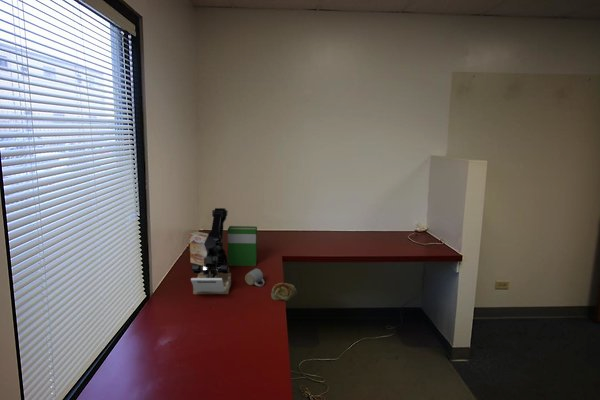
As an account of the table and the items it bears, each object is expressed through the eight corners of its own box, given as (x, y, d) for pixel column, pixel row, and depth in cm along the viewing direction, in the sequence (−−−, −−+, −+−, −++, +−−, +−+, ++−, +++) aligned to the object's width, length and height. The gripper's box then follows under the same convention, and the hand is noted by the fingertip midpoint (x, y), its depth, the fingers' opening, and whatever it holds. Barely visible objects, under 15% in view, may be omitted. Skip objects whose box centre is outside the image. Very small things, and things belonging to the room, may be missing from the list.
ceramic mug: (243, 284, 205) (243, 271, 204) (253, 279, 212) (253, 266, 210) (258, 289, 200) (258, 276, 198) (267, 284, 206) (268, 271, 205)
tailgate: (195, 289, 190) (191, 278, 180) (224, 289, 191) (221, 278, 181) (195, 292, 189) (190, 281, 179) (224, 292, 190) (221, 281, 180)
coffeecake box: (190, 262, 235) (189, 233, 231) (197, 259, 241) (197, 231, 238) (207, 267, 228) (207, 237, 225) (215, 263, 235) (214, 234, 231)
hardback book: (256, 261, 240) (257, 226, 235) (255, 265, 233) (255, 229, 228) (230, 261, 239) (229, 226, 235) (228, 265, 232) (227, 229, 227)
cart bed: (198, 283, 204) (198, 272, 203) (231, 283, 205) (230, 272, 204) (193, 294, 191) (192, 282, 190) (227, 294, 192) (227, 282, 191)
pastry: (273, 303, 184) (273, 288, 182) (268, 292, 196) (268, 278, 194) (300, 300, 188) (300, 285, 187) (293, 289, 200) (293, 276, 198)
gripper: (191, 250, 187) (186, 279, 179) (228, 250, 189) (225, 279, 180) (195, 259, 197) (191, 286, 188) (230, 259, 198) (227, 286, 189)
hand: (208, 284), depth 186 cm, fingers closed, pressing on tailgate
